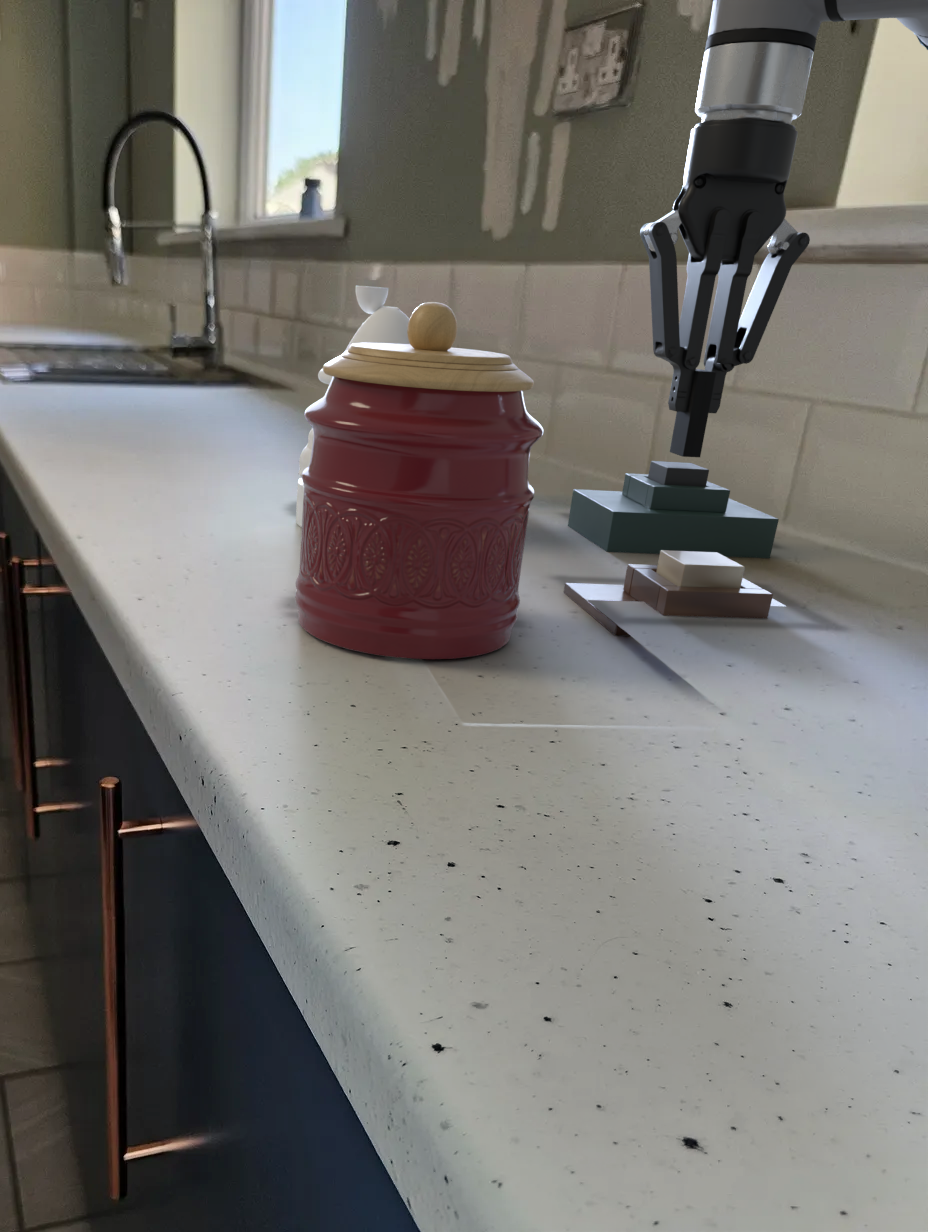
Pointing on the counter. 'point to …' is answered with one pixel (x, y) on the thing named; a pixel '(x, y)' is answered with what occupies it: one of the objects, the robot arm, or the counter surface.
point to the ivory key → (699, 569)
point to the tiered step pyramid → (671, 520)
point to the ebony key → (678, 474)
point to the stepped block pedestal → (672, 597)
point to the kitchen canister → (416, 497)
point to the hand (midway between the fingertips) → (684, 454)
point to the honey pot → (375, 329)
